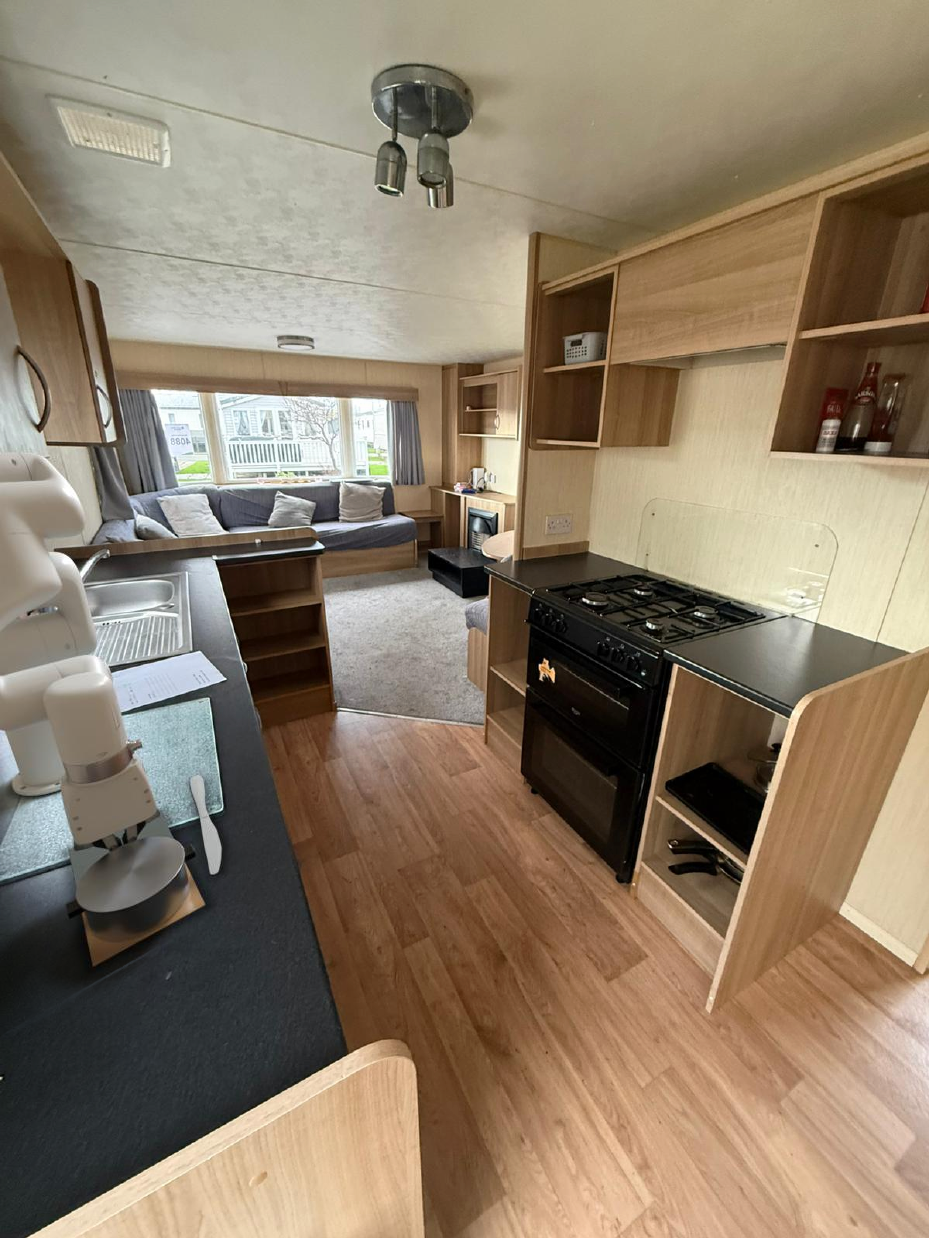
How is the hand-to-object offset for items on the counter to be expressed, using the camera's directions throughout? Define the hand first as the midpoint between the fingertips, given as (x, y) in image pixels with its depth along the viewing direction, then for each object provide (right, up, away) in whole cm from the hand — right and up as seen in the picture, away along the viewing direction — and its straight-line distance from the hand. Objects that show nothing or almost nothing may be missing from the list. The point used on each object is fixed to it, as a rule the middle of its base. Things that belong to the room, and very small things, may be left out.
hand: (128, 862), depth 76 cm
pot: (+5, -3, -5) cm, 8 cm away
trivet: (+5, -3, -5) cm, 8 cm away
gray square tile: (-3, 0, +4) cm, 5 cm away
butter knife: (+6, +2, +10) cm, 12 cm away
